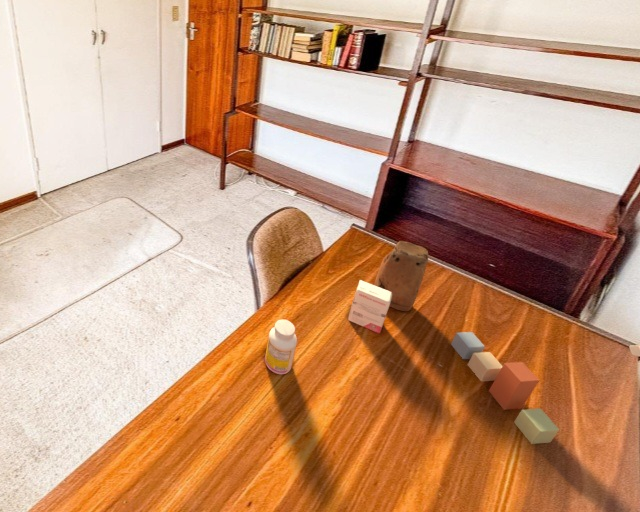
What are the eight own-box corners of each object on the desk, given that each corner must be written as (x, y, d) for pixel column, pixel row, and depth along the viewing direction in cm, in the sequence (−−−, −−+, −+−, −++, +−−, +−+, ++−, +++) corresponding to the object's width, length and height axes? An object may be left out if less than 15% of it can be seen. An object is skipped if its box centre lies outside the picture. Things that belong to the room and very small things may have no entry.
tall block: (505, 389, 95) (522, 361, 91) (521, 408, 91) (539, 380, 86) (488, 391, 94) (504, 363, 90) (503, 410, 90) (521, 381, 86)
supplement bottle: (276, 347, 103) (284, 311, 98) (296, 366, 98) (305, 330, 93) (258, 360, 99) (265, 323, 94) (278, 380, 95) (286, 343, 89)
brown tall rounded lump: (410, 299, 120) (430, 247, 111) (410, 316, 114) (431, 262, 105) (372, 286, 125) (389, 234, 116) (370, 301, 118) (387, 249, 110)
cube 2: (483, 363, 101) (489, 351, 99) (497, 380, 97) (504, 368, 95) (467, 364, 101) (473, 352, 99) (480, 381, 96) (487, 369, 95)
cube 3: (466, 343, 106) (471, 331, 104) (478, 358, 102) (485, 346, 100) (450, 344, 106) (456, 332, 104) (462, 359, 102) (469, 347, 100)
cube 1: (531, 420, 88) (540, 408, 86) (550, 442, 84) (559, 429, 82) (513, 422, 88) (521, 409, 86) (531, 444, 84) (540, 431, 82)
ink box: (382, 322, 112) (393, 291, 106) (379, 335, 108) (391, 303, 103) (350, 309, 116) (359, 278, 111) (347, 320, 112) (356, 289, 107)
